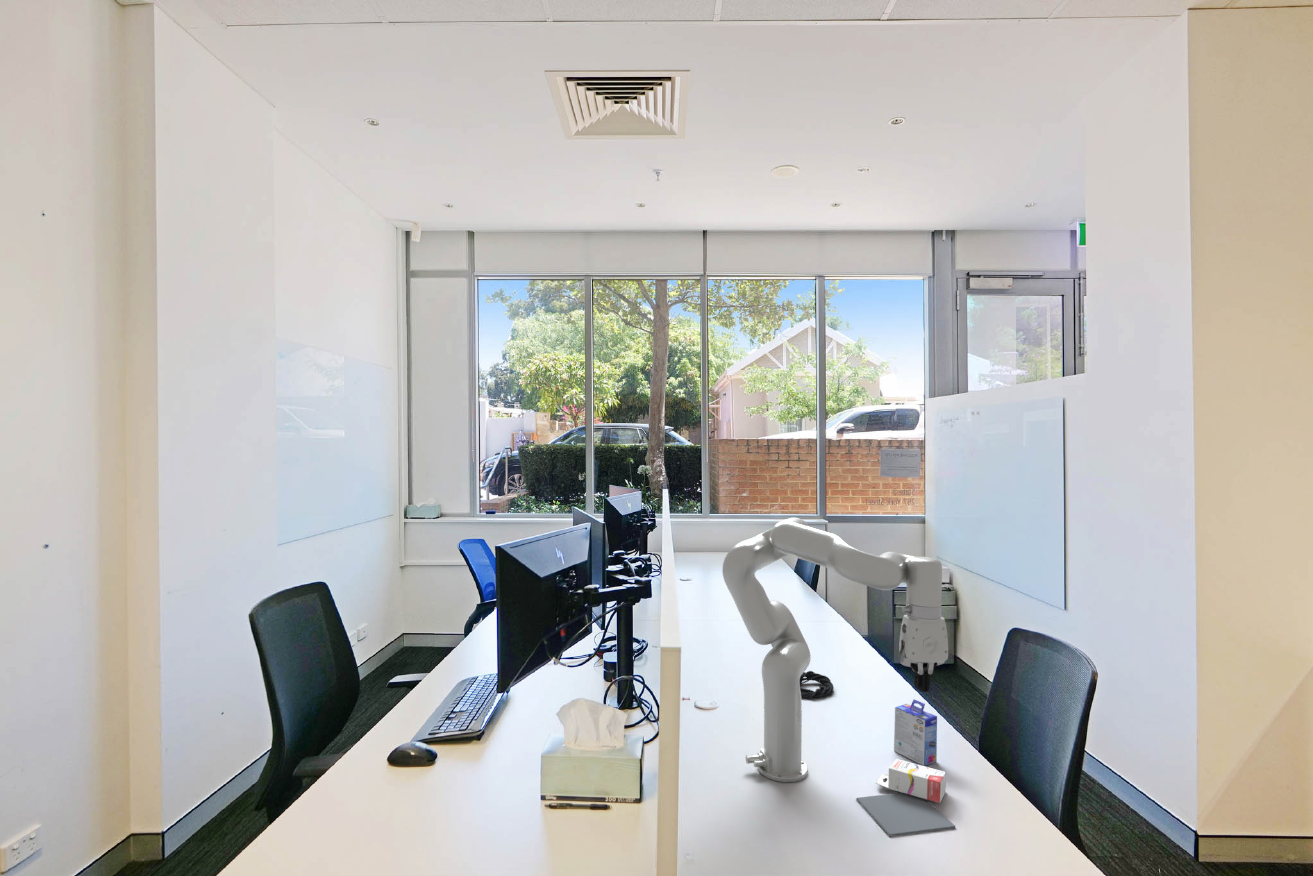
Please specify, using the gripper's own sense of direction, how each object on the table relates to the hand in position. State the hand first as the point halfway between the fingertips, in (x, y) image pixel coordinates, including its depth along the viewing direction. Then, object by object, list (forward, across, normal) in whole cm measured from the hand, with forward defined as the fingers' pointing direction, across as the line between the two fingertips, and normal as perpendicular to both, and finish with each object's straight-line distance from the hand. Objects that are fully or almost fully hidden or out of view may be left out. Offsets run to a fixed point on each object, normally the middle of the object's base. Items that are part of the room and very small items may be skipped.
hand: (921, 689), depth 147 cm
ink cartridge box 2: (+24, +7, +2) cm, 25 cm away
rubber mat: (+27, -5, -2) cm, 28 cm away
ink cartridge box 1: (+28, +13, +21) cm, 37 cm away
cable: (+28, +4, +68) cm, 74 cm away
